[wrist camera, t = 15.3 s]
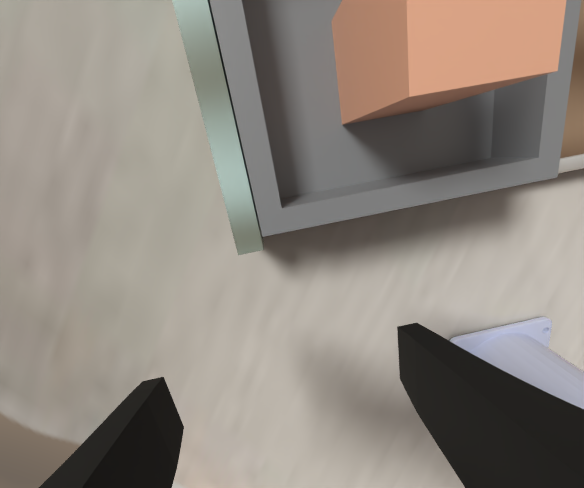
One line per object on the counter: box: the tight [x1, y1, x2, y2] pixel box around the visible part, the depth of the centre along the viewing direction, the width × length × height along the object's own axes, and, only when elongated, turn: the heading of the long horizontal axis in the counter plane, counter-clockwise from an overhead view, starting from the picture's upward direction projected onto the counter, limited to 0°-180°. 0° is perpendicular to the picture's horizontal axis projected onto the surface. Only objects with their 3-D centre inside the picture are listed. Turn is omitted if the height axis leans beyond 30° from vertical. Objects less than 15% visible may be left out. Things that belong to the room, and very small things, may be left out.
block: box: [331, 0, 566, 125], centre depth 9 cm, size 4×4×6 cm
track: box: [172, 0, 584, 255], centre depth 13 cm, size 14×27×4 cm, turn 100°
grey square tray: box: [210, 0, 581, 237], centre depth 12 cm, size 12×13×4 cm
